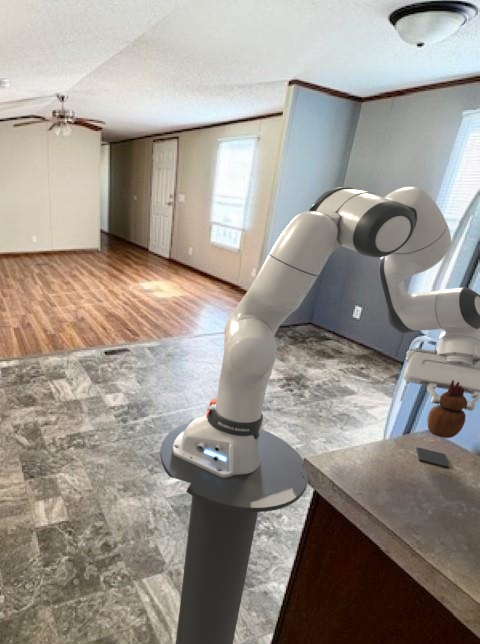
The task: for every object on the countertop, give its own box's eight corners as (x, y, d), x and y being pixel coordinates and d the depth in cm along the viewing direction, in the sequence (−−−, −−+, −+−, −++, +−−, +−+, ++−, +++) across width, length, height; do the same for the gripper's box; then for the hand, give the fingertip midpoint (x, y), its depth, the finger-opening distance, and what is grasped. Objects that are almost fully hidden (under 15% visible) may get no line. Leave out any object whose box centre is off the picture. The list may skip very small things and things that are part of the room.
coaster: (418, 460, 106) (419, 459, 106) (416, 448, 111) (416, 447, 111) (448, 468, 103) (449, 466, 103) (444, 455, 108) (445, 453, 108)
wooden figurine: (429, 438, 103) (449, 383, 97) (419, 425, 108) (438, 373, 102) (462, 443, 101) (484, 387, 95) (451, 430, 106) (471, 376, 100)
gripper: (410, 341, 107) (403, 391, 103) (517, 357, 97) (514, 413, 93) (404, 351, 112) (396, 399, 108) (505, 367, 103) (501, 421, 99)
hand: (452, 406), depth 101 cm, fingers closed on wooden figurine, 5 cm apart
